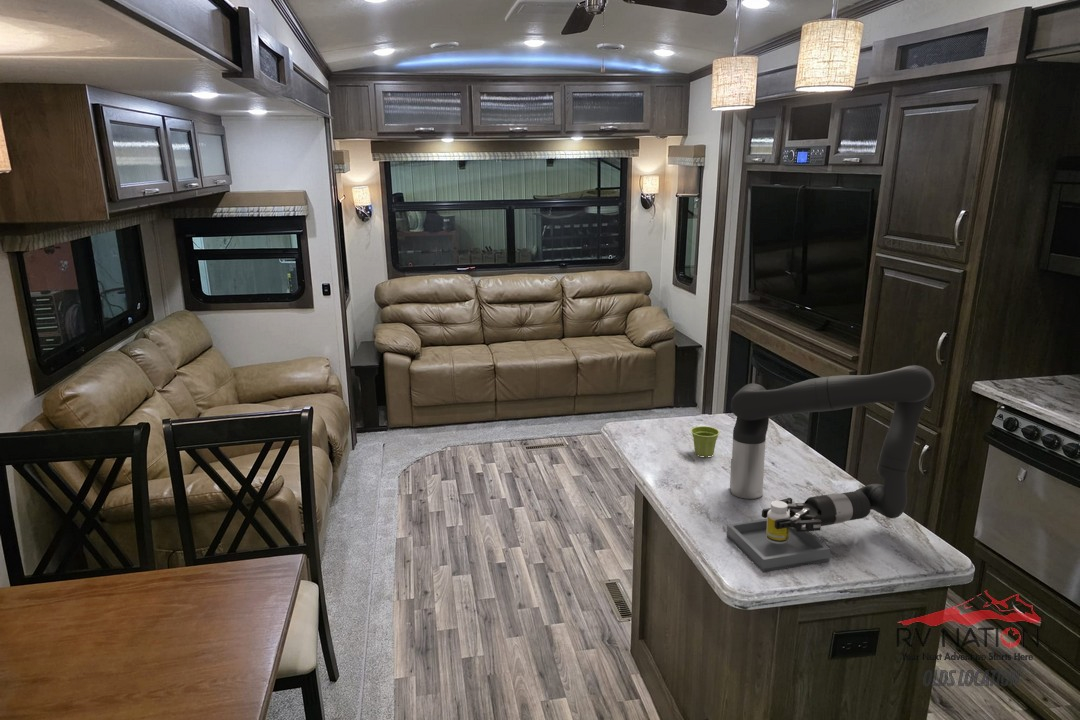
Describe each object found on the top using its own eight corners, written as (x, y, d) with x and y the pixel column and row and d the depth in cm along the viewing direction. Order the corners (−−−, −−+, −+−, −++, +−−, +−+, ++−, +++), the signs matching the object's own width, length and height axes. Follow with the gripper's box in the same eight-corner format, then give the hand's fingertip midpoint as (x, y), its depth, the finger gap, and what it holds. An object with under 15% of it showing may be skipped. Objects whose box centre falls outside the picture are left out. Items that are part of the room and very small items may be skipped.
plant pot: (722, 452, 239) (723, 428, 236) (713, 462, 231) (714, 437, 229) (696, 447, 243) (696, 424, 241) (686, 457, 236) (686, 433, 234)
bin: (726, 536, 184) (727, 524, 183) (787, 527, 188) (788, 515, 187) (763, 572, 167) (763, 559, 166) (829, 561, 171) (830, 548, 170)
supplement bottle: (789, 545, 174) (791, 509, 171) (767, 544, 175) (768, 508, 172) (786, 534, 179) (788, 499, 176) (764, 533, 180) (766, 498, 177)
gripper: (812, 484, 184) (754, 493, 181) (847, 508, 171) (785, 518, 167) (811, 510, 186) (753, 519, 182) (845, 536, 173) (784, 546, 169)
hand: (769, 519), depth 175 cm, fingers closed on supplement bottle, 5 cm apart
